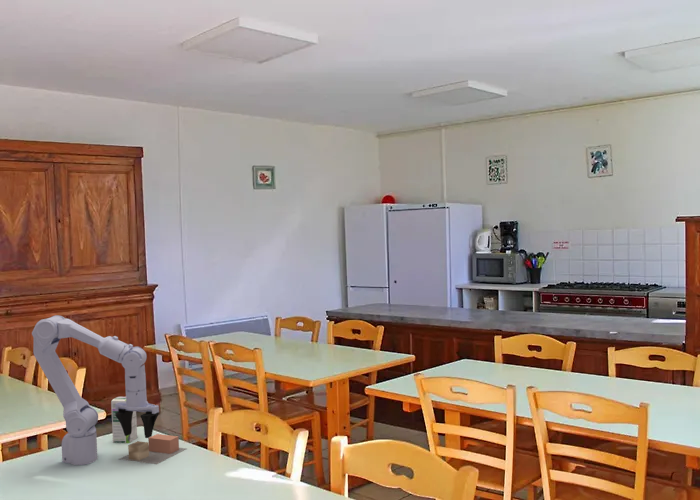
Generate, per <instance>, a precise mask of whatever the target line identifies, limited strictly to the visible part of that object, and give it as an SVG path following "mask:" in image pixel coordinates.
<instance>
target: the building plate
mask: <svg viewBox="0 0 700 500" xmlns="http://www.w3.org/2000/svg"><path fill="white" fill-rule="evenodd" d="M186 450H187V448H186V447H185V448H184V447H179V450H177V451H175V452H173V453H171V454H168V453H160V452H152V451H149V456H148V457H146V458H144V459H142V460H132V459H129V453H128V454H126V455H124V456H122V457H120V458H119V460H120V461H122V460H123V461H130V462H135V463H145V464H150V465H159V464H160V463H162V462H164V461H167V460H168V459H170V458H172V457H175V456H177V455H178V454H180V453H182V452H185V451H186Z"/></svg>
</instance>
